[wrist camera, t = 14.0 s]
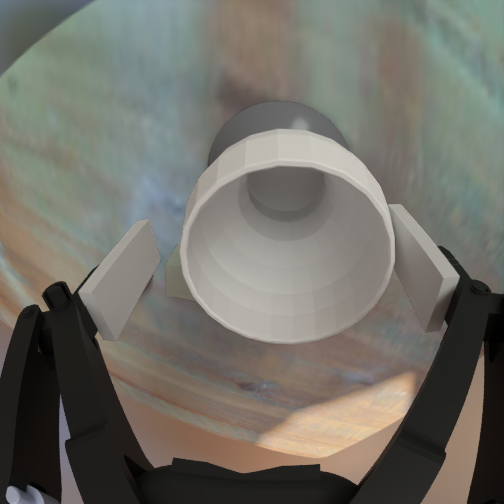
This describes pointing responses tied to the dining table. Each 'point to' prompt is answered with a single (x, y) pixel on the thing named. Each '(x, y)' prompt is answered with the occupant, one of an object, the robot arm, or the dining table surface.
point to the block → (176, 278)
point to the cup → (287, 238)
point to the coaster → (273, 124)
